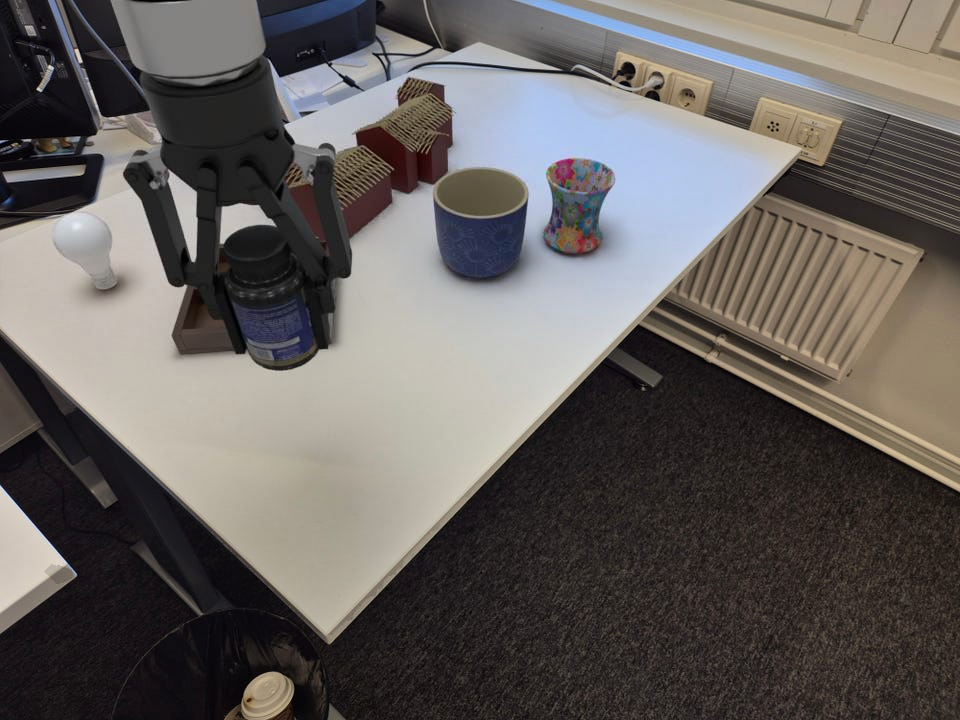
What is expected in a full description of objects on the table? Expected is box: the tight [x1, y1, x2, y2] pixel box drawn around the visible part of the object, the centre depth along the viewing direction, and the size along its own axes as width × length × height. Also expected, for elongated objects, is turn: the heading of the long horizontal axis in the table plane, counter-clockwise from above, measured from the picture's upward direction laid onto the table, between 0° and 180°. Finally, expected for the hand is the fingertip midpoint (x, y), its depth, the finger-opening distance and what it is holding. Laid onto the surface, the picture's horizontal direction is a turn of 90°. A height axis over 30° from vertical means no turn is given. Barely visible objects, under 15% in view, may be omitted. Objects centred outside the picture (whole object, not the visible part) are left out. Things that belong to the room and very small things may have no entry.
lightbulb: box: [51, 211, 118, 291], centre depth 82 cm, size 6×6×11 cm
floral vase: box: [543, 157, 616, 254], centre depth 91 cm, size 12×9×11 cm
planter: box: [432, 166, 530, 278], centre depth 87 cm, size 12×12×11 cm
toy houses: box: [284, 76, 457, 240], centre depth 105 cm, size 45×20×10 cm, turn 151°
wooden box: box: [170, 237, 337, 355], centre depth 83 cm, size 18×18×3 cm
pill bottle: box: [223, 224, 319, 372], centre depth 51 cm, size 6×6×11 cm
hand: (284, 340), depth 55 cm, fingers closed on pill bottle, 6 cm apart
